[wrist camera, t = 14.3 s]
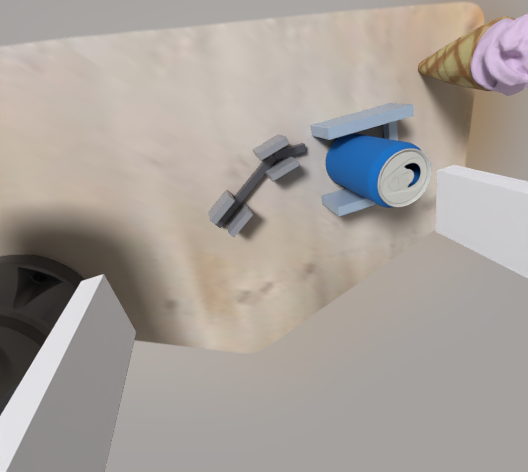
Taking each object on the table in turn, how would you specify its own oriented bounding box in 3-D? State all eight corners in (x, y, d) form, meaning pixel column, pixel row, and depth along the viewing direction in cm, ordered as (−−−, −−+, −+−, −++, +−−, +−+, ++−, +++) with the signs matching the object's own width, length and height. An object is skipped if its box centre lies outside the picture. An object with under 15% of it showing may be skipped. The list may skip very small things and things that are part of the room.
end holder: (322, 204, 41) (339, 216, 37) (310, 125, 37) (327, 128, 32) (394, 182, 42) (418, 191, 38) (390, 103, 38) (418, 102, 33)
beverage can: (373, 171, 41) (439, 194, 30) (330, 191, 41) (381, 222, 30) (362, 124, 38) (431, 132, 27) (316, 145, 38) (368, 161, 27)
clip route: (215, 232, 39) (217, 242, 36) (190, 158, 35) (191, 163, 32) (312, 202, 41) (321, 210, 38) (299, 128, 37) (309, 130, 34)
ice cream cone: (456, 46, 37) (609, 13, 24) (437, 101, 39) (567, 99, 26) (411, 33, 35) (548, -11, 22) (394, 91, 37) (509, 84, 24)
